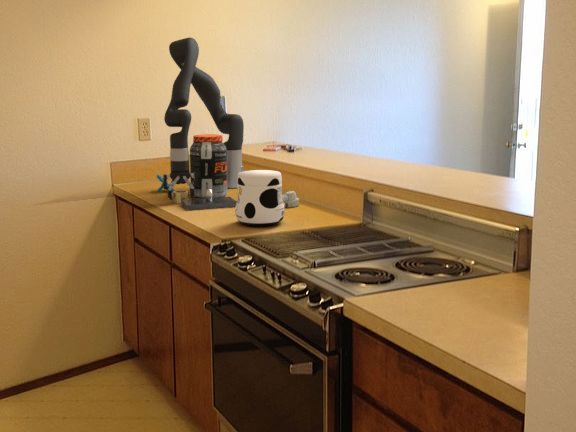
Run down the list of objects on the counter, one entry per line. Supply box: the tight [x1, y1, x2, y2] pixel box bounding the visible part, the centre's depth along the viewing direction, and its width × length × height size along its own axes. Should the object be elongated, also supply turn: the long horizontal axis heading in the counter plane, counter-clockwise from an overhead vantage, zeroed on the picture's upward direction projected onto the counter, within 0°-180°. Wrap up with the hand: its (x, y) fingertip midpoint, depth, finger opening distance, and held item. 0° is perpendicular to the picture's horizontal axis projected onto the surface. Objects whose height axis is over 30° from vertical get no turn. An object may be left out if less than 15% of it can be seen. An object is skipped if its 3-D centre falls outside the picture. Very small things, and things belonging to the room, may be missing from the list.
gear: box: [156, 174, 175, 192], centre depth 315 cm, size 11×6×10 cm
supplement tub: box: [189, 133, 228, 199], centre depth 302 cm, size 16×16×26 cm
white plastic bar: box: [282, 190, 300, 208], centre depth 275 cm, size 5×7×25 cm
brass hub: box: [172, 189, 190, 205], centre depth 289 cm, size 6×6×4 cm
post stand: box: [180, 189, 237, 211], centre depth 282 cm, size 20×12×6 cm, turn 110°
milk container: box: [235, 169, 286, 227], centre depth 249 cm, size 17×17×18 cm
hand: (181, 198), depth 289 cm, fingers open, 8 cm apart
